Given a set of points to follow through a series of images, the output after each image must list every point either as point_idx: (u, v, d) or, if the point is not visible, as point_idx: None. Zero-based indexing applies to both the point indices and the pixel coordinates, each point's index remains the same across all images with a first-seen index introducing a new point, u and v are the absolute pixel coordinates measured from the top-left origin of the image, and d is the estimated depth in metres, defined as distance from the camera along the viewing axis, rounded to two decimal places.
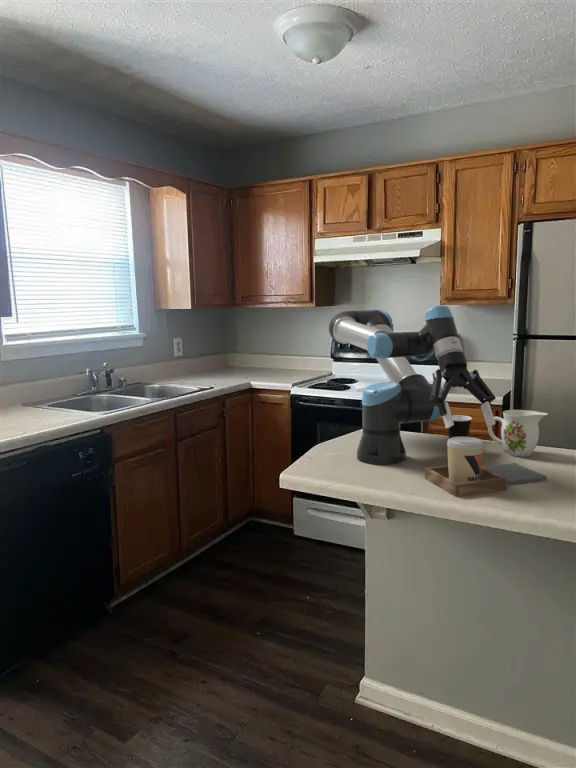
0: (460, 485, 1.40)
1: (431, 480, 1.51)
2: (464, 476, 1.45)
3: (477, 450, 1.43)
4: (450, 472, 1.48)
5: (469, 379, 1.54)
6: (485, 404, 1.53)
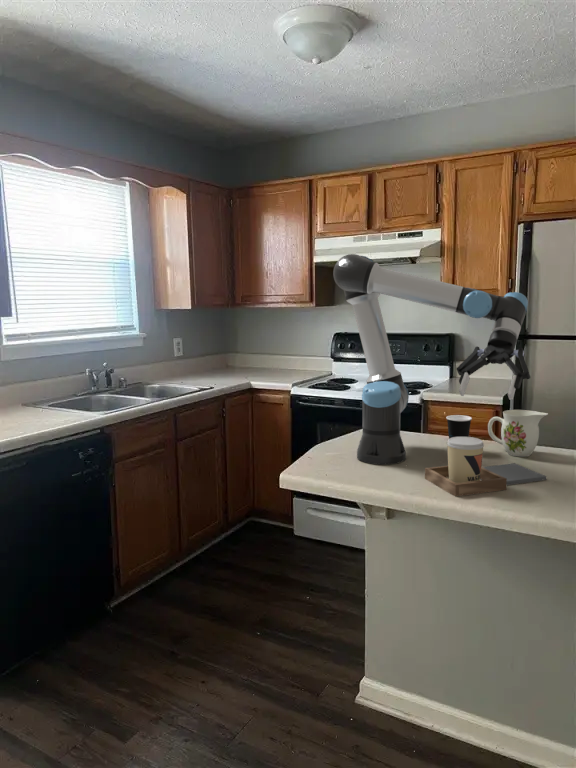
0: (460, 485, 1.40)
1: (431, 480, 1.51)
2: (464, 476, 1.45)
3: (477, 450, 1.43)
4: (450, 472, 1.48)
5: None
6: (468, 378, 1.61)
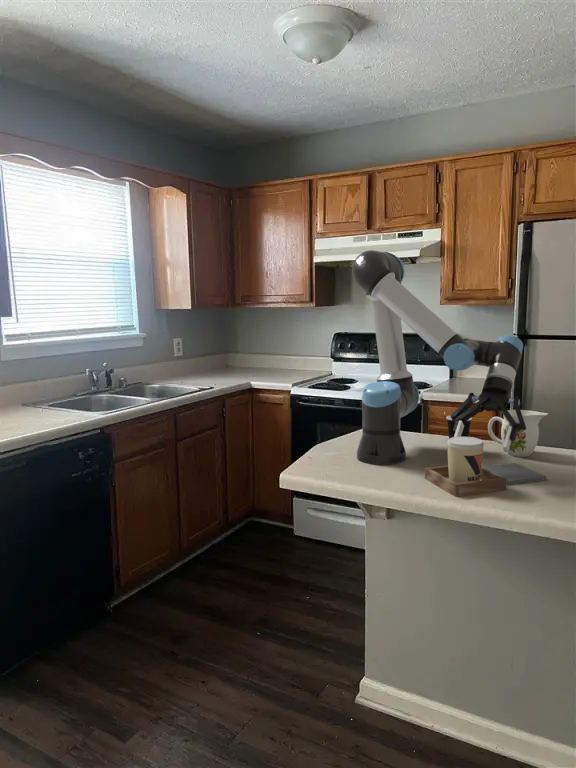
0: (460, 485, 1.40)
1: (431, 480, 1.51)
2: (464, 476, 1.45)
3: (477, 450, 1.43)
4: (450, 472, 1.48)
5: None
6: (463, 426, 1.57)
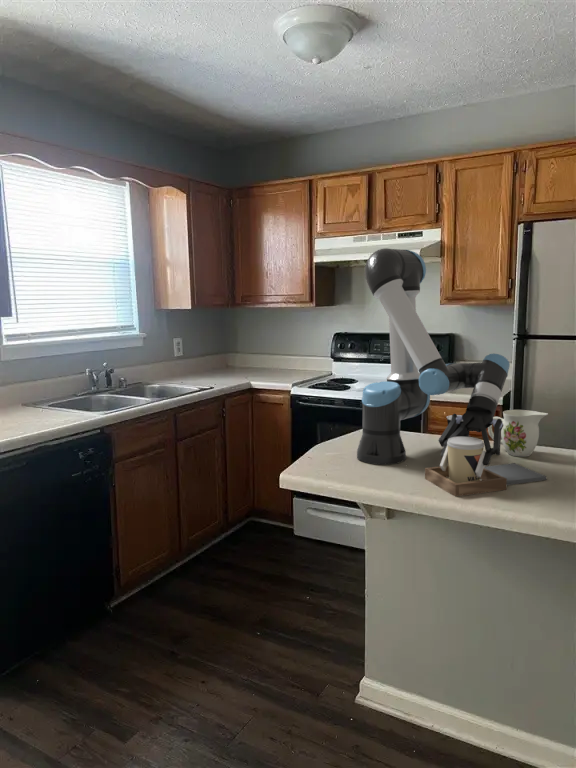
0: (460, 485, 1.40)
1: (431, 480, 1.51)
2: (464, 476, 1.45)
3: (477, 450, 1.43)
4: (450, 472, 1.48)
5: None
6: None
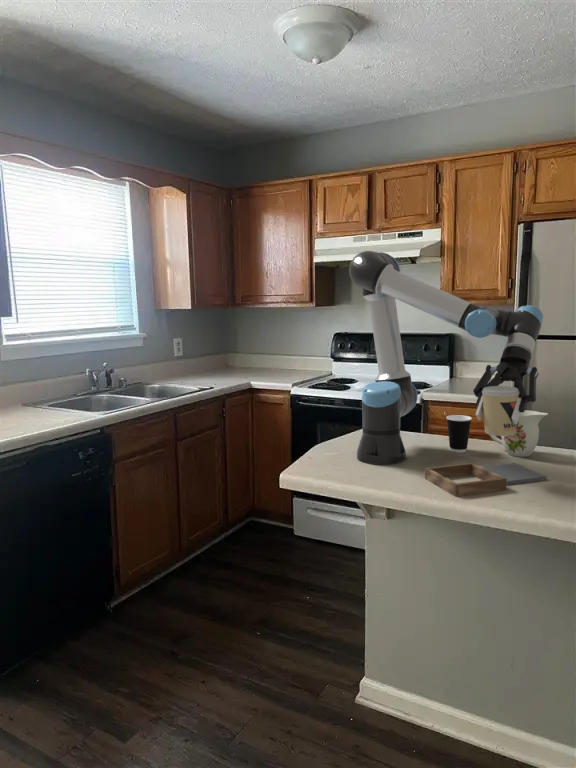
0: (460, 485, 1.40)
1: (431, 480, 1.51)
2: (500, 423, 1.46)
3: (513, 396, 1.45)
4: (486, 420, 1.49)
5: None
6: None
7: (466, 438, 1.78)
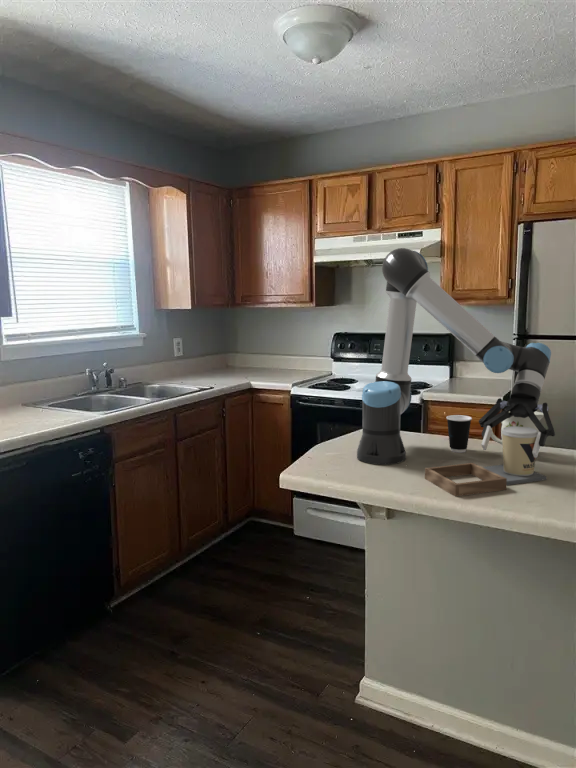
0: (460, 485, 1.40)
1: (431, 480, 1.51)
2: (519, 463, 1.51)
3: (532, 438, 1.49)
4: (505, 460, 1.54)
5: None
6: (491, 431, 1.59)
7: (466, 438, 1.78)
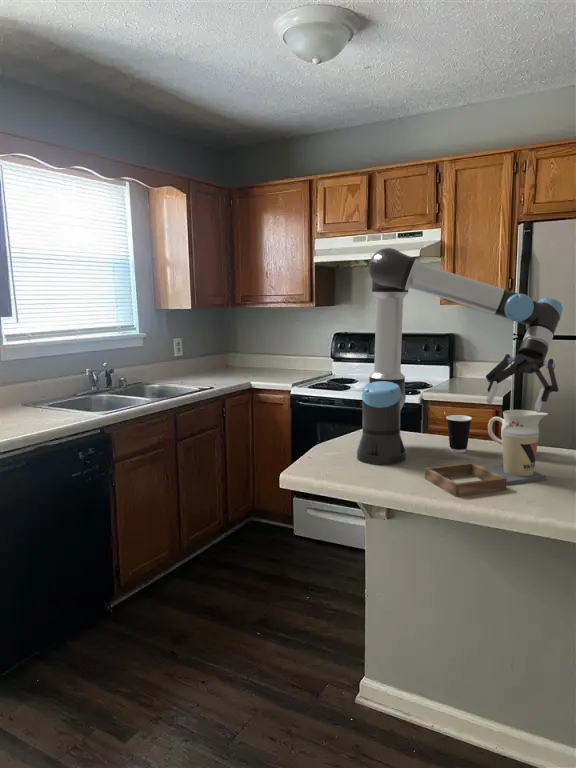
0: (460, 485, 1.40)
1: (431, 480, 1.51)
2: (520, 464, 1.51)
3: (533, 438, 1.49)
4: (505, 460, 1.54)
5: None
6: (497, 386, 1.65)
7: (466, 438, 1.78)
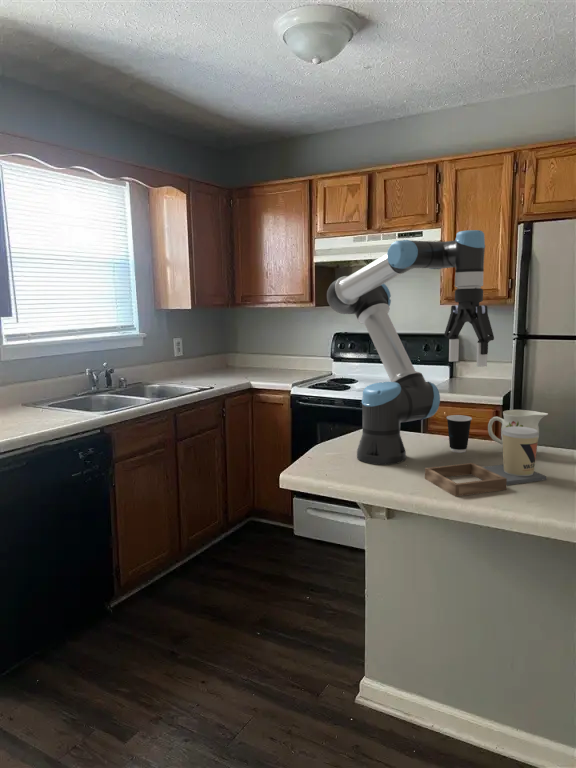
0: (460, 485, 1.40)
1: (431, 480, 1.51)
2: (520, 464, 1.51)
3: (533, 438, 1.49)
4: (505, 460, 1.54)
5: None
6: (456, 341, 1.63)
7: (466, 438, 1.78)
